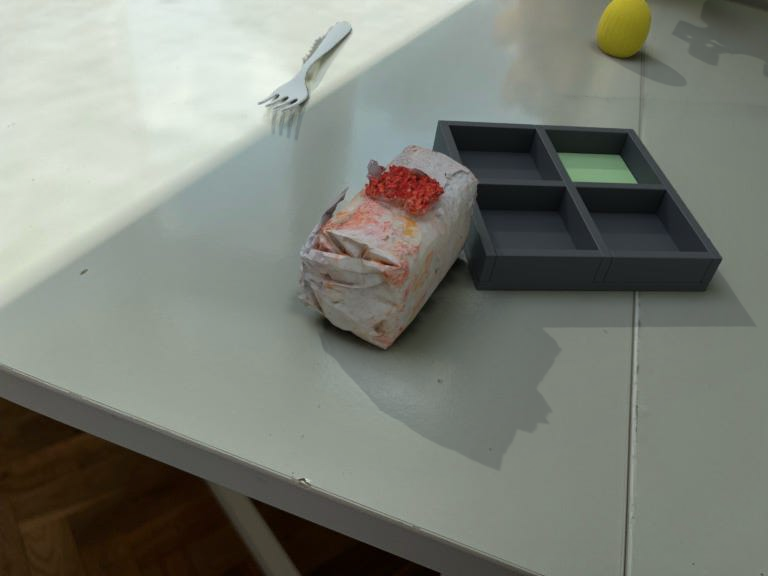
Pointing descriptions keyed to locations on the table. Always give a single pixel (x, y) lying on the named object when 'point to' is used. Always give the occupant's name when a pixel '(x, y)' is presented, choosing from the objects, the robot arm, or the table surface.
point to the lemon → (624, 27)
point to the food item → (388, 244)
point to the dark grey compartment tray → (574, 211)
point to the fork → (297, 85)
